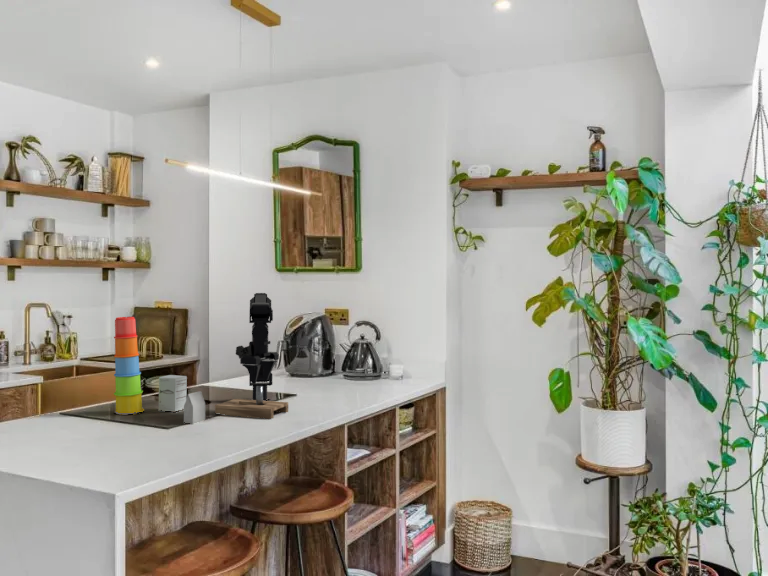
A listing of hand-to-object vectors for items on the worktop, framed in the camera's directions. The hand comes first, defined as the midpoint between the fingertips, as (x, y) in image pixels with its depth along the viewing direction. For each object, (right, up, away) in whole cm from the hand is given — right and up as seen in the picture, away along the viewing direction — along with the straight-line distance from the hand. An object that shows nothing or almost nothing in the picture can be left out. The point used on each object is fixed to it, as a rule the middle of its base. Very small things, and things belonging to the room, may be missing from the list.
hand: (259, 381), depth 246 cm
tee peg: (0, -12, 0) cm, 12 cm away
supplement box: (-33, -12, +5) cm, 35 cm away
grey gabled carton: (-19, -12, -15) cm, 27 cm away
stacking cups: (-47, -11, 0) cm, 49 cm away
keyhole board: (-3, -12, +1) cm, 12 cm away
